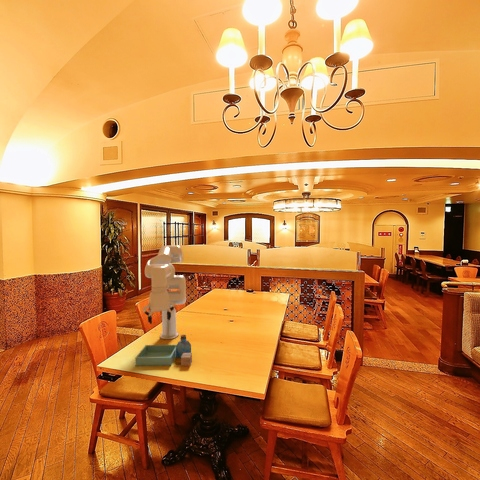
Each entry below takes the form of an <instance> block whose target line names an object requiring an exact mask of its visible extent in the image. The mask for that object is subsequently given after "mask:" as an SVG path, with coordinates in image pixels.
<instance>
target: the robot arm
mask: <svg viewBox="0 0 480 480" xmlns="http://www.w3.org/2000/svg"><path fill="white" fill-rule="evenodd" d="M184 257H185V256H184V252H183V248H182V247H181V245H176V244H175V245H172V244H171V245H163V246H161V247H160V248H159V250H158V253H157V255H156V256H154V257H152V258H150V259H149V260H147V262H146V263H145V264H146V265H145V268H144V275H145V277H146V278H148V279H151V292H149V297H148V304H146V305H145V306H144V307H141V310H142V311H143V314H145V315H146V316H147V323H149V324H150V325H152V324H153V320H152V319H153V318H152V317H153V316H152V315H153V313H157V312H161V321H162V323H161V327H162V328H161V329H162V330H161V331H162V332H161V333H160V335H159V337H160V339H162V340H172V339H175V338H177V337H178V336H179V332H178V331H177V310H176V308H175V306H176V305H177V306H178V305H184V304H185V303H186V301H187V287H186V286H187V285H186V284H187V281H186V277H185V275H181V274H179V275H176V269H175V266H174V265H173V264H181V263H182V262H183V261H184ZM147 309H148V311H147Z"/></svg>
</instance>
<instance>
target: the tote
mask: <svg viewBox="0 0 480 480" xmlns="http://www.w3.org/2000/svg"><path fill="white" fill-rule="evenodd" d="M176 345H177V344H145V345H144V346H143V348H142V349H141V350H140V351H139V353H138V354H137V356H135V359H134V361H135V362H134V363H135V367H151V366H153V367H154V366H155V367H156V366H157V367H159V366H161V367H164V366H165V367H166V366H172V364H173V363H174V361H175V359H176V358H177V357H176Z"/></svg>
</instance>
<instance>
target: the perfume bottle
mask: <svg viewBox="0 0 480 480" xmlns="http://www.w3.org/2000/svg"><path fill="white" fill-rule="evenodd" d="M179 340H180V341H178V342H177V344H175V345H176V357H175V358H178V359H181V356H182V354H183V353H192V344H191V343H190V342H189V340H187V335H186V334H181V335H180V339H179Z"/></svg>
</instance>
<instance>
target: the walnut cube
mask: <svg viewBox="0 0 480 480" xmlns="http://www.w3.org/2000/svg"><path fill="white" fill-rule="evenodd" d="M192 363H193V352H191V353H183V354H182V356H181V358H180V365H181V366H180V367H191V366H192Z"/></svg>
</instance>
